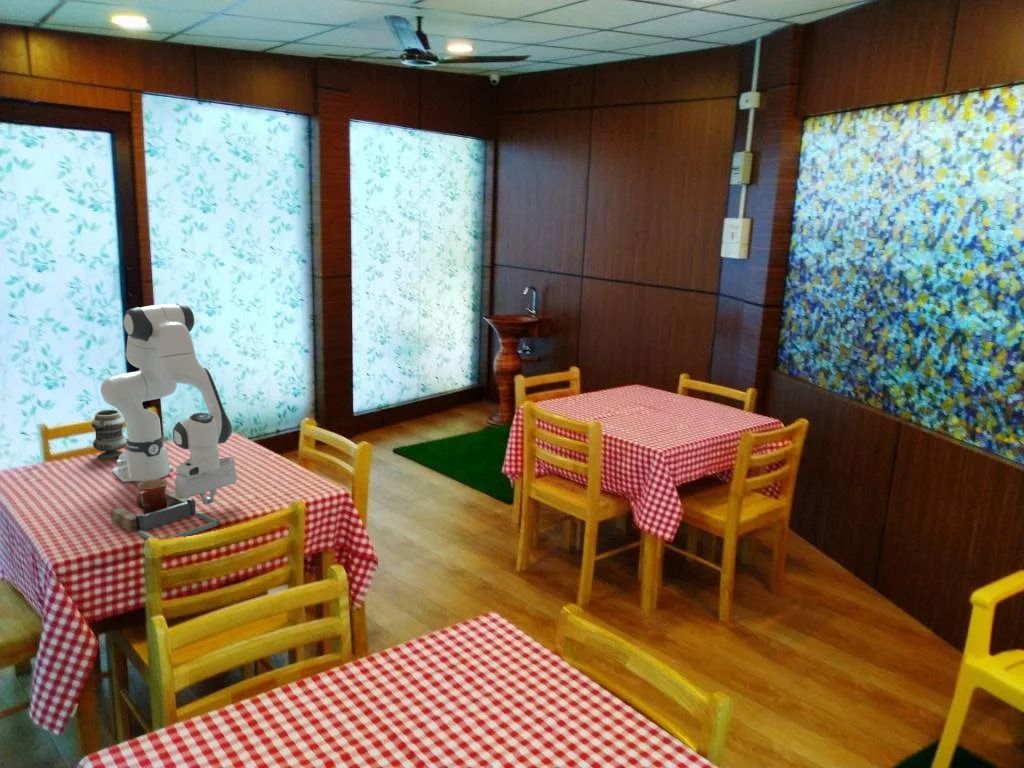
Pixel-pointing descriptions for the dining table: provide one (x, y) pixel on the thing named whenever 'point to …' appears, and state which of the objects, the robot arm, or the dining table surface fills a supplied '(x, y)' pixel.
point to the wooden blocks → (129, 519)
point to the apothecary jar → (108, 434)
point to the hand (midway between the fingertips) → (208, 503)
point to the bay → (192, 531)
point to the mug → (152, 495)
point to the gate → (165, 515)
